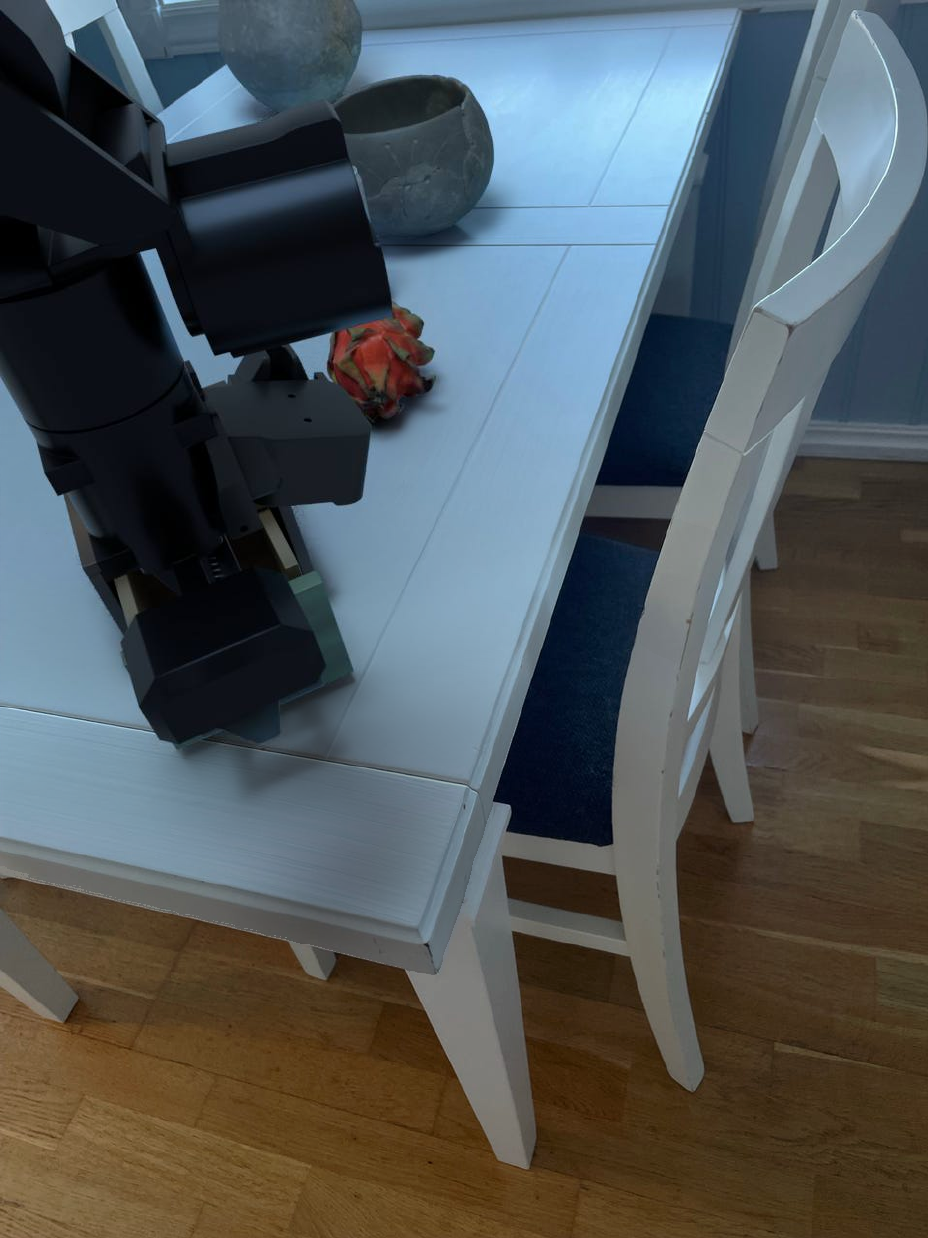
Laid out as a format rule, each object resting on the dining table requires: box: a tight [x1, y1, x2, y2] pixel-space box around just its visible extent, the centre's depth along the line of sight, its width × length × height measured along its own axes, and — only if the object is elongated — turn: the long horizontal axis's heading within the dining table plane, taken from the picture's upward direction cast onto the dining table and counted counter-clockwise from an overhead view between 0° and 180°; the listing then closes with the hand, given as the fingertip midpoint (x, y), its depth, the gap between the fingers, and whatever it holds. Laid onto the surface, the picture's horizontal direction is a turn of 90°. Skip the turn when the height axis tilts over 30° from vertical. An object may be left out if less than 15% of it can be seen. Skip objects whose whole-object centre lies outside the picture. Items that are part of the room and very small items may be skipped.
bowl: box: [332, 74, 495, 240], centre depth 97 cm, size 18×18×13 cm
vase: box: [216, 0, 363, 114], centre depth 124 cm, size 20×19×25 cm
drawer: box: [114, 507, 355, 751], centre depth 57 cm, size 18×11×8 cm, turn 25°
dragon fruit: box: [326, 300, 438, 424], centre depth 77 cm, size 8×8×12 cm
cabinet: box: [62, 379, 315, 637], centre depth 64 cm, size 15×13×10 cm
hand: (242, 672), depth 44 cm, fingers open, 8 cm apart
